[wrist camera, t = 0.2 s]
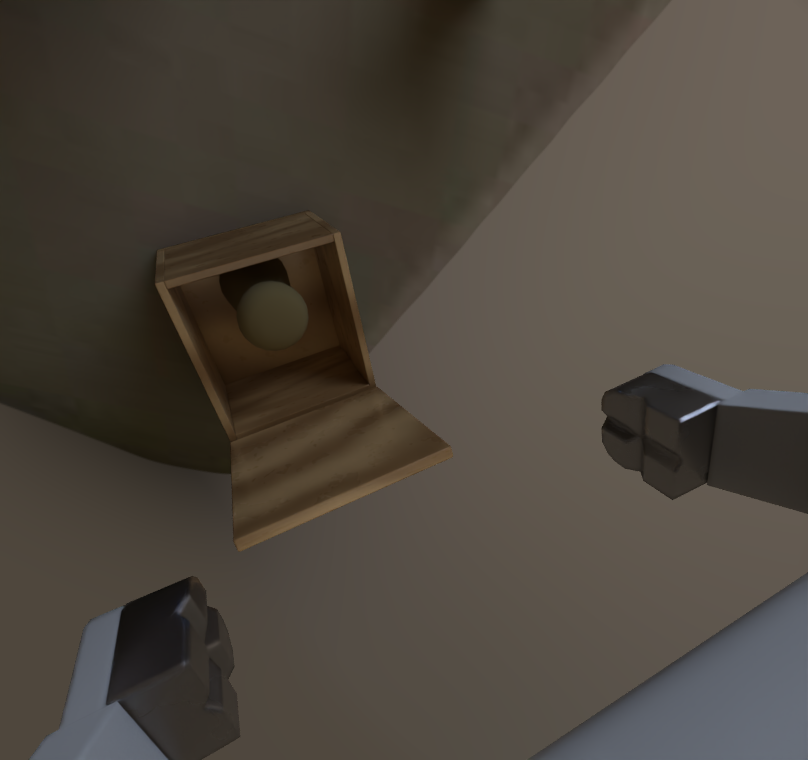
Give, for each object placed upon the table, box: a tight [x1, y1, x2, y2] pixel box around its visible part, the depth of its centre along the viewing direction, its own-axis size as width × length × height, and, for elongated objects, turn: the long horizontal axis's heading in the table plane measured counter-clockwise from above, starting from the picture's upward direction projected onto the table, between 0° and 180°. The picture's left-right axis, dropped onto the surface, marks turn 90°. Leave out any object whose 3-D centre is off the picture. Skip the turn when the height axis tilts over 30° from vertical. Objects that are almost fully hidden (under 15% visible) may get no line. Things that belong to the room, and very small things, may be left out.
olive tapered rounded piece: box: [219, 258, 308, 351], centre depth 38 cm, size 6×6×11 cm
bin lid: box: [230, 387, 453, 552], centre depth 33 cm, size 15×13×1 cm
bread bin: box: [155, 210, 376, 442], centre depth 40 cm, size 14×13×10 cm
